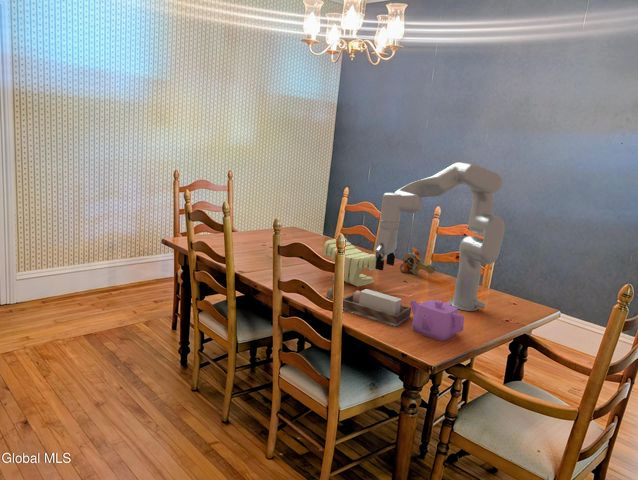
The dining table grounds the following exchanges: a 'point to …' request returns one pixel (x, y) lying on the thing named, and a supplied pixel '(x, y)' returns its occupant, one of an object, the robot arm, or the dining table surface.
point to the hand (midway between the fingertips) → (384, 267)
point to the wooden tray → (376, 312)
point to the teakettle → (436, 319)
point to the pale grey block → (378, 301)
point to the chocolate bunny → (330, 291)
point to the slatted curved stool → (353, 262)
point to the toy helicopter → (415, 263)
